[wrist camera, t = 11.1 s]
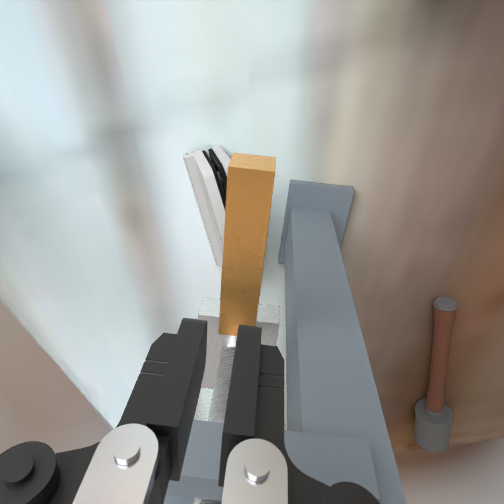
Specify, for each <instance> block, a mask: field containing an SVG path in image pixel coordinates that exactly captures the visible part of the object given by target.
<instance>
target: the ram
mask: <svg viewBox="0 0 504 504" xmlns="http://www.w3.org/2000/svg"><path fill="white" fill-rule="evenodd" d="M275 163H276V157H268V156H258V155H249V154H240V153H233V154H232V157H231V160H230V162H229V165H228V173H227V191H226V208H225V226H224V244H223V261H222V279H221V297H220V300H218V299H210V298H203V300H202V303H201V306H200V310H199V313H198V320H206V321H207V353H206V364H205V371H204V376H203V380H202V384H201V387H203V388H211V389H214V391H213V396H212V402H211V407H210V413H209V418H208V421H209V422H218V423H224V419H225V412H226V406H227V399H228V392H229V386H230V379H231V373H232V366H233V360H234V353H235V346H236V340H237V333H238V327H239V324H240V325H249V326H257V327H262V335H261V344H262V345H270V346H276V342H277V336H278V330H279V323H280V306H272V305H263V304H259V296H260V288H261V280H262V272H263V264H264V256H265V248H266V240H267V233H268V225H269V217H270V209H271V201H272V193H273V185H274V177H275ZM221 503H222V501H217V500H208V499H200V498H193V504H221Z"/></svg>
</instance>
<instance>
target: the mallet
mask: <svg viewBox="0 0 504 504" xmlns="http://www.w3.org/2000/svg"><path fill="white" fill-rule="evenodd" d="M433 305H434V313H433V317H434V333H433V344H432V355H431V366H430V377H429V387H428V392H427V396H426V398H424V399H420V400H419V401H418V402H417V403H416V404H415V413H416V415H415V428H414V437H415V440H416V442H417V443H418V445H419V446H420V447H422V448H423V449H425V450H427V451H429V452H435V453H438V452H442V451H444V450H445V449H447V446H448V444H449V437H450V429H451V423H452V421H453V419H454V416H453V412H452V410H451V408H450V407H449V406H448V405H447V404H446V403H445V402H444V387H445V378H446V370H447V362H448V353H449V345H450V336H451V328H452V325H453V322H454V318H455V311H456V308H457V303H456V301H455V300H454V299H452V298H449V297H438V298H436V299H435V300H434V302H433Z"/></svg>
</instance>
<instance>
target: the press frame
mask: <svg viewBox="0 0 504 504" xmlns="http://www.w3.org/2000/svg"><path fill="white" fill-rule="evenodd" d="M353 195H354V188H353V187H351V186H342V185H333V184H324V183H315V182H305V181H296V180H290V185H289V192H288V198H287V205H286V212H285V218H284V225H283V232H282V239H281V245H280V252H279V259H278V264H285V298H286V368H287V431H286V430H284V443H285V448H286V451H287V454H288V456H289V458H290V459H291V461H292V462H293V464H294V465H295V466H296V467H297V468H298V469H299V470H300V471H302V472H303V473H304V474H306V475H308V476H310V477H312V478H314V479H316V480H318V481H320V482H322V483H324V484H326V485H328V486H331V485H333V484H335V483H338V482H345V481H347V482H353V483H356V484H359V485H360V486H362V487H364V488H365V489H367V490H368V491H369V492H371V493H372V494H373V495H374V497H375V498H376V499H377V500H378V501H379V503H380V504H406V500H405V496H404V493H403V489H402V485H401V481H400V477H399V473H398V469H397V466H396V462H395V458H394V454H393V450H392V446H391V442H390V439H389V435H388V431H387V427H386V423H385V419H384V416H383V412H382V408H381V404H380V400H379V397H378V393H377V389H376V385H375V381H374V377H373V374H372V370H371V366H370V362H369V358H368V354H367V351H366V347H365V343H364V339H363V335H362V331H361V328H360V324H359V320H358V316H357V312H356V308H355V305H354V301H353V297H352V293H351V289H350V286H349V282H348V278H347V274H346V270H345V266H344V263H343V259H342V255H341V251H340V247H341V243H342V239H343V235H344V231H345V227H346V223H347V219H348V215H349V211H350V207H351V203H352V199H353ZM223 425H224V423H218V422H209V421H201V420H193V424H192V428H191V432H190V437H189V441H188V445H187V450H186V454H185V458H184V463H183V467H182V471H181V476H180V480H179V481H172V480H169V484H168V488H167V491H166V496H165V500H164V504H193V498H200V499H208V500H217V501H222V495H223V488H224V487H220V486H218V482H219V469H220V457H221V444H222V432H223Z"/></svg>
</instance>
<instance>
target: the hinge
mask: <svg viewBox="0 0 504 504" xmlns="http://www.w3.org/2000/svg"><path fill="white" fill-rule="evenodd" d="M208 150H209V154H210V157H211V160H210V158H209V157H208V155H207V153H206V152H205V151H202V150H201V149H198V150H196V151H194V152H192V153H190V154H188V155H187V154H186V153H184V154H182V155H183V158H184V162H185V165H186V168H187V171H188V175H189V178H190V181H191V184H192V188H193V191H194V194H195V197H196V201H197V204H198V207H199V210H200V214H201V217H202V220H203V223H204V227H205V230H206V233H207V236H208V240H209V243H210V246H211V249H212V253H213V256H214V259H215V262H216V264H217V266H222V261H223V244H224V226H225V208H226V200H225V197H226V191H227V173H228V165H229V162H230V158H229V157H228V155H227V154H226V152H225V151H224V150H223V148H222V147H221V145H212V146H211V149H208ZM211 161H212V162H211ZM212 163H213V164H212ZM224 196H225V197H224Z"/></svg>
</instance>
